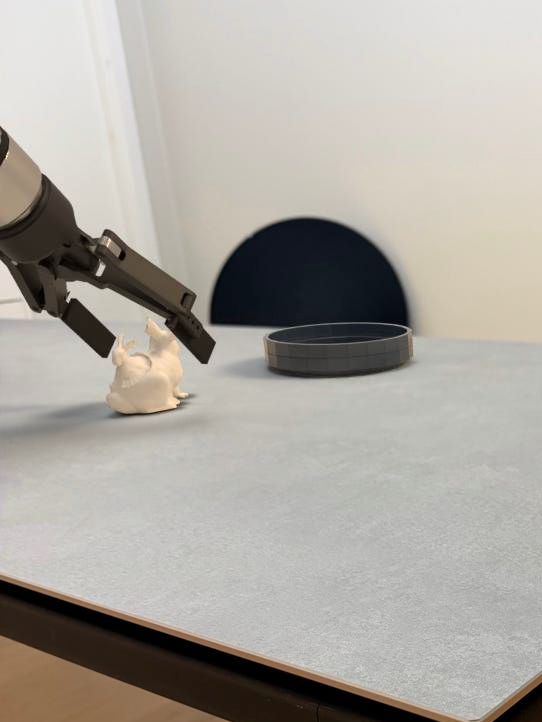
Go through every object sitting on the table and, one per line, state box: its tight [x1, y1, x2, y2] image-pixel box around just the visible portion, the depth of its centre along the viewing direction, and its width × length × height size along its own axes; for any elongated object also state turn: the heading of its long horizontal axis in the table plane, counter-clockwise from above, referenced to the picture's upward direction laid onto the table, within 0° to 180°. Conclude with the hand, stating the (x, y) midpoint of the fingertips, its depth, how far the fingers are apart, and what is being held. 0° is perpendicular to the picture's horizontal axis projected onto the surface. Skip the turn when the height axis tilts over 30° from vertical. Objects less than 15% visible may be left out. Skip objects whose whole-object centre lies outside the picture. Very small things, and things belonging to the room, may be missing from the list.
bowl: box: [262, 322, 414, 377], centre depth 125 cm, size 19×19×4 cm
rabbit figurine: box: [105, 316, 189, 415], centre depth 102 cm, size 12×8×10 cm, turn 146°
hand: (158, 350), depth 102 cm, fingers open, 13 cm apart
